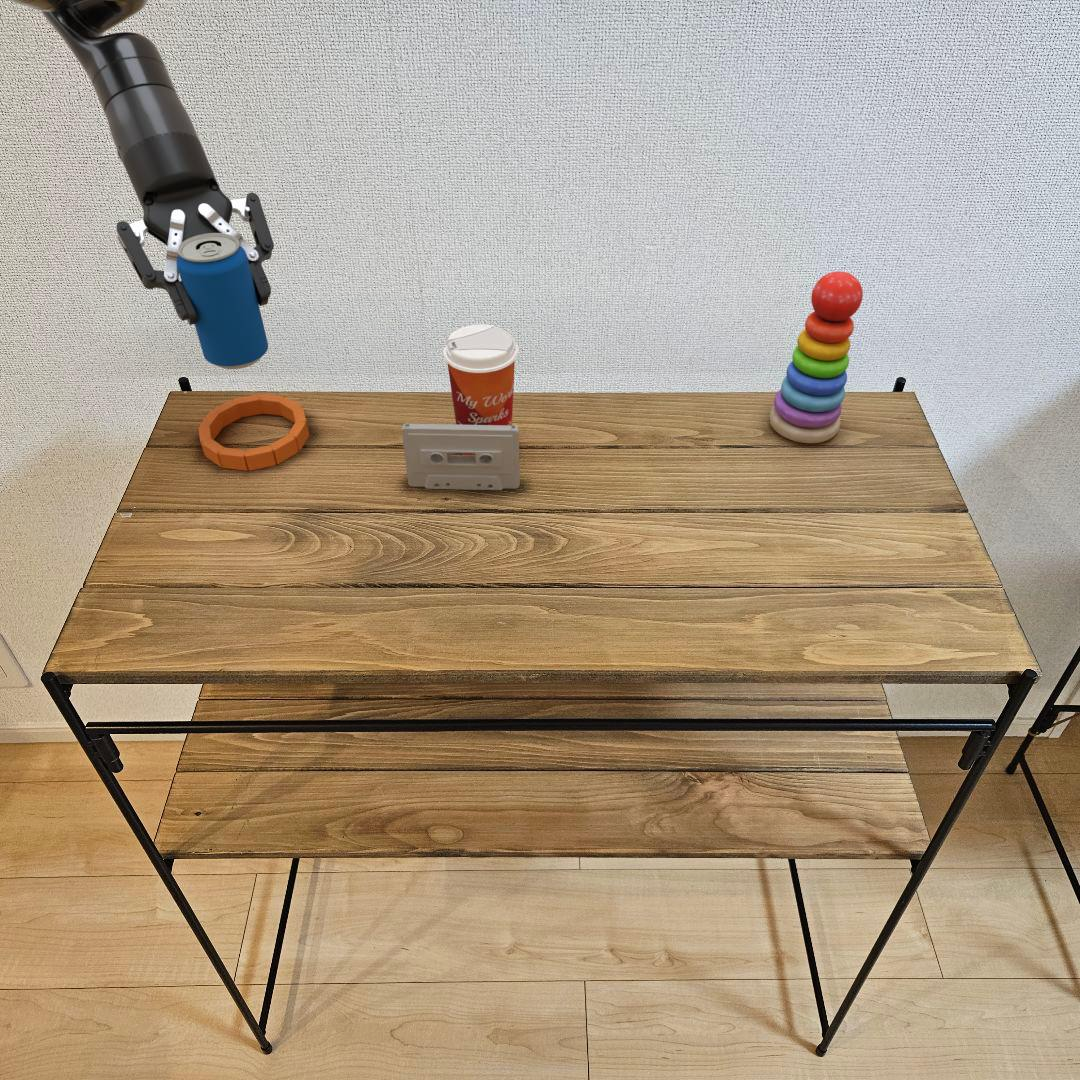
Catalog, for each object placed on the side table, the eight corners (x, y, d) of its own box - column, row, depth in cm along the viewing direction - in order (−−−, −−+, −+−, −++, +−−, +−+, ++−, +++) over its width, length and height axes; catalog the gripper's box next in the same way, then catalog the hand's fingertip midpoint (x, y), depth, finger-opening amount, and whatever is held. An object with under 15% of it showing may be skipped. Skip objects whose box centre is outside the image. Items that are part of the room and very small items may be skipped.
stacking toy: (845, 447, 100) (890, 295, 87) (774, 446, 100) (809, 294, 87) (830, 407, 106) (870, 258, 93) (762, 406, 106) (794, 257, 93)
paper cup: (458, 477, 96) (450, 366, 86) (445, 436, 101) (435, 327, 92) (528, 465, 98) (527, 354, 88) (511, 425, 103) (509, 317, 93)
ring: (208, 479, 96) (203, 465, 94) (199, 419, 104) (195, 405, 102) (315, 457, 99) (312, 442, 97) (299, 400, 107) (296, 386, 105)
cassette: (407, 489, 95) (399, 431, 89) (409, 478, 96) (402, 420, 91) (519, 491, 94) (518, 433, 89) (520, 480, 96) (519, 422, 90)
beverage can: (264, 334, 95) (239, 226, 87) (274, 366, 91) (248, 255, 82) (202, 346, 93) (170, 237, 85) (209, 378, 89) (175, 266, 81)
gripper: (80, 145, 80) (155, 320, 81) (236, 116, 85) (304, 279, 86) (87, 184, 86) (156, 344, 88) (231, 154, 92) (294, 305, 93)
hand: (229, 311), depth 87 cm, fingers closed on beverage can, 6 cm apart
